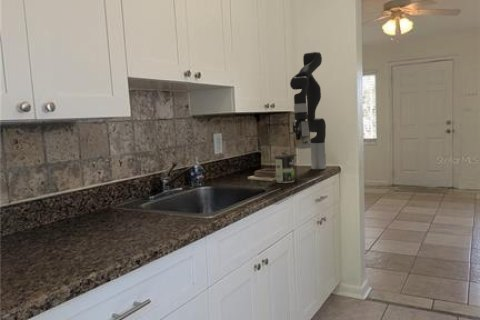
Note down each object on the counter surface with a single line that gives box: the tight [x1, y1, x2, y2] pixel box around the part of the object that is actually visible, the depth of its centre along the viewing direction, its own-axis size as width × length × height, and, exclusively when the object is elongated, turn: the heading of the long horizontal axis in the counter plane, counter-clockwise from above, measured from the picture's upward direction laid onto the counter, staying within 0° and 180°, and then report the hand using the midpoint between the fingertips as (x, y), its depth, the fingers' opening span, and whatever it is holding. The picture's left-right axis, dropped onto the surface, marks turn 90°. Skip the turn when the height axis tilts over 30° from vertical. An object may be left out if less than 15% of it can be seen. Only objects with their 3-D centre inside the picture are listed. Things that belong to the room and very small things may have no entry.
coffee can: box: [274, 154, 296, 184], centre depth 211 cm, size 10×10×14 cm
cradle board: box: [247, 168, 276, 182], centre depth 228 cm, size 20×18×4 cm
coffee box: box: [292, 120, 311, 150], centre depth 227 cm, size 9×6×16 cm
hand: (301, 139), depth 227 cm, fingers closed on coffee box, 7 cm apart
